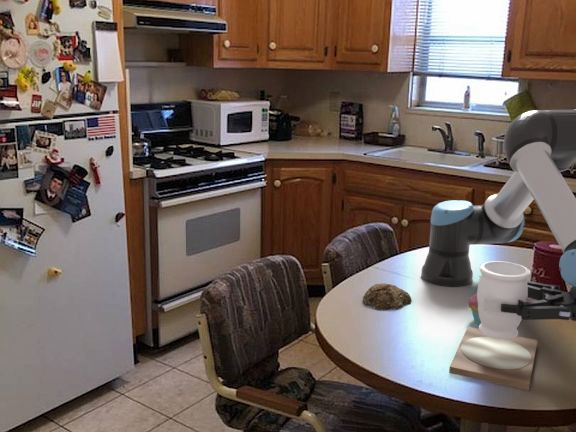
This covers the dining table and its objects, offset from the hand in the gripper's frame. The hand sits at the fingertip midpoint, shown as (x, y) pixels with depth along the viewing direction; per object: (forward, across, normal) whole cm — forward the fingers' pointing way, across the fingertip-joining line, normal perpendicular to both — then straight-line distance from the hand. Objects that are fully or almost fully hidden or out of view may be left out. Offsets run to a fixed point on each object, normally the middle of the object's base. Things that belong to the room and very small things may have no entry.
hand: (482, 294), depth 135 cm
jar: (-4, 0, -9) cm, 10 cm away
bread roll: (+23, +27, -16) cm, 39 cm away
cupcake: (-3, +21, -15) cm, 26 cm away
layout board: (-4, 0, -15) cm, 16 cm away
